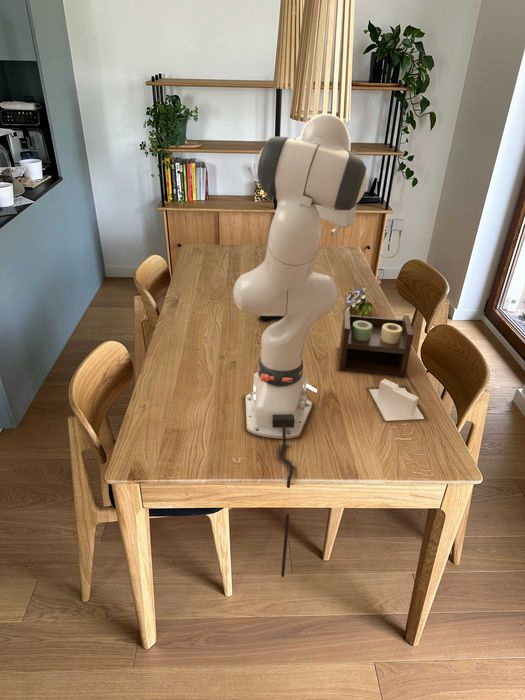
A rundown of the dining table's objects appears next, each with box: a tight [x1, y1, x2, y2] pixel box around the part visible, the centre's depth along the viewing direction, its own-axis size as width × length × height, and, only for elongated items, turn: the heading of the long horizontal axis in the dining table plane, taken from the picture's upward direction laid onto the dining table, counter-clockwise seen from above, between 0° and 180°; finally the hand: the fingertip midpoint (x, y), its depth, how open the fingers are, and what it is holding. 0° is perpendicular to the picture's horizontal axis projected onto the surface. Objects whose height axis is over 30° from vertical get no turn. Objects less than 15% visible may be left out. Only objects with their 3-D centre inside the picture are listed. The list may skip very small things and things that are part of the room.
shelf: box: [338, 309, 415, 378], centre depth 158 cm, size 14×20×15 cm
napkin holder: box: [368, 378, 425, 422], centre depth 141 cm, size 15×11×6 cm
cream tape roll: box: [380, 323, 402, 344], centre depth 154 cm, size 6×6×4 cm
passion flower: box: [345, 287, 377, 317], centre depth 192 cm, size 11×11×12 cm
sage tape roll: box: [351, 321, 372, 341], centre depth 155 cm, size 6×6×4 cm
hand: (321, 230), depth 156 cm, fingers open, 8 cm apart
